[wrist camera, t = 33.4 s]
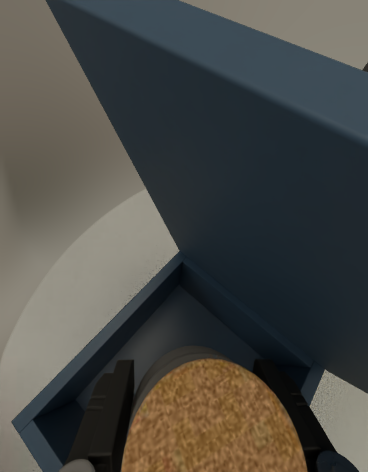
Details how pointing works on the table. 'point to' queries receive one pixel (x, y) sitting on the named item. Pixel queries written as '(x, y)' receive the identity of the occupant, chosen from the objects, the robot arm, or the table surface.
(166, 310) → the cool box
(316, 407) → the table surface
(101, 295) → the table surface
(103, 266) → the table surface
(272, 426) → the bottle
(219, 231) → the cool box lid
